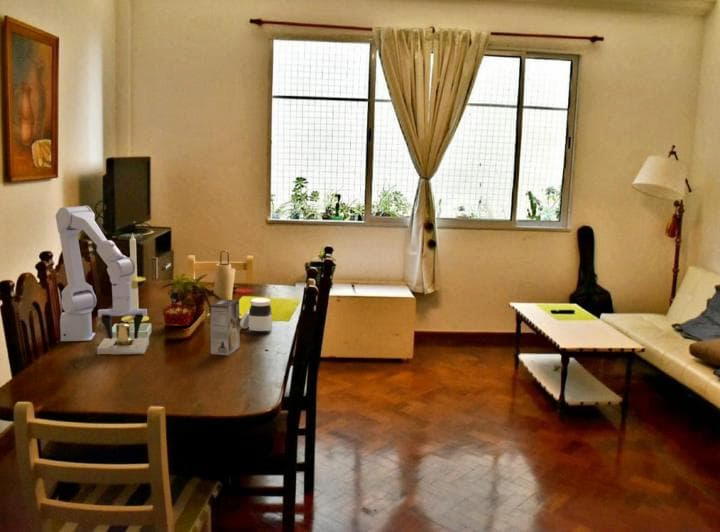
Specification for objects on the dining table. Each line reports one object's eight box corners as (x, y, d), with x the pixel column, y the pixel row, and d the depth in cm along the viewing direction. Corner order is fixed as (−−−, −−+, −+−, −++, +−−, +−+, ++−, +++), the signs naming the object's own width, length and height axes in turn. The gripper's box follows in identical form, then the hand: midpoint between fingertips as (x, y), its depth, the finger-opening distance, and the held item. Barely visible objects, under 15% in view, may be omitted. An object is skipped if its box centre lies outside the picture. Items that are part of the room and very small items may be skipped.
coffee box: (221, 345, 221) (221, 298, 218) (240, 347, 220) (240, 299, 217) (210, 354, 212) (209, 304, 209) (229, 356, 211) (228, 306, 208)
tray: (109, 341, 222) (109, 332, 221) (115, 332, 232) (114, 323, 231) (147, 340, 224) (147, 331, 223) (151, 331, 234) (151, 323, 233)
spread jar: (268, 336, 233) (269, 304, 231) (236, 335, 233) (236, 302, 231) (274, 327, 245) (274, 296, 243) (243, 325, 245) (243, 294, 243)
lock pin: (116, 351, 212) (115, 326, 211) (118, 347, 216) (117, 323, 214) (129, 350, 213) (128, 326, 211) (131, 346, 217) (130, 323, 215)
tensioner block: (97, 354, 208) (96, 348, 207) (104, 344, 218) (104, 338, 218) (144, 353, 210) (143, 347, 210) (148, 343, 221) (148, 337, 220)
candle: (119, 317, 251) (116, 231, 245) (147, 314, 255) (145, 230, 249) (122, 323, 242) (119, 235, 236) (151, 321, 247) (148, 234, 241)
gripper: (95, 299, 206) (96, 342, 209) (144, 299, 209) (145, 341, 211) (99, 294, 213) (101, 335, 215) (147, 294, 215) (148, 334, 218)
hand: (123, 337), depth 214 cm, fingers open, 7 cm apart
